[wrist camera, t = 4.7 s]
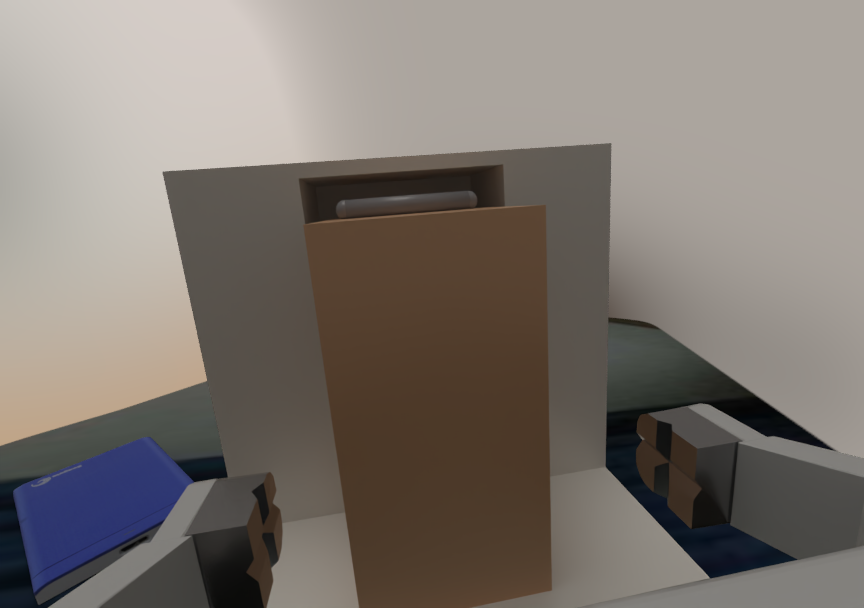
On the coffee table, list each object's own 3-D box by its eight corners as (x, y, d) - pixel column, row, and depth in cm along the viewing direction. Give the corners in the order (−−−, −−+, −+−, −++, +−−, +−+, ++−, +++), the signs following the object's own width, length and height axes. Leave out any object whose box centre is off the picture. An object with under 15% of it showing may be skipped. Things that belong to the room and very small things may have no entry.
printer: (210, 824, 12) (5, 108, 8) (305, 450, 32) (261, 182, 27) (699, 696, 14) (754, 76, 10) (508, 419, 34) (498, 166, 29)
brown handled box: (362, 630, 12) (299, 196, 10) (363, 448, 22) (332, 204, 19) (552, 590, 13) (545, 178, 10) (473, 431, 23) (458, 194, 20)
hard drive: (10, 488, 28) (31, 589, 20) (149, 434, 34) (210, 494, 26) (18, 508, 28) (41, 615, 20) (154, 451, 34) (215, 516, 26)
